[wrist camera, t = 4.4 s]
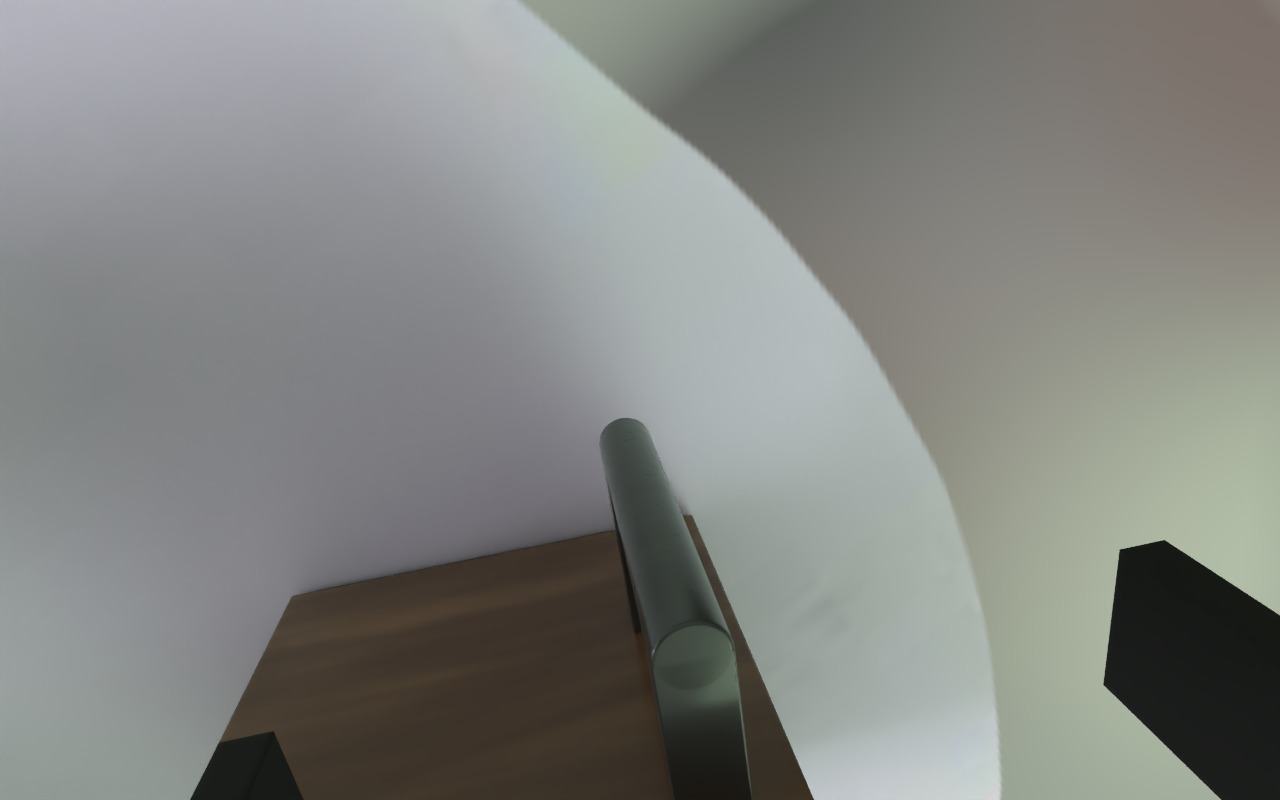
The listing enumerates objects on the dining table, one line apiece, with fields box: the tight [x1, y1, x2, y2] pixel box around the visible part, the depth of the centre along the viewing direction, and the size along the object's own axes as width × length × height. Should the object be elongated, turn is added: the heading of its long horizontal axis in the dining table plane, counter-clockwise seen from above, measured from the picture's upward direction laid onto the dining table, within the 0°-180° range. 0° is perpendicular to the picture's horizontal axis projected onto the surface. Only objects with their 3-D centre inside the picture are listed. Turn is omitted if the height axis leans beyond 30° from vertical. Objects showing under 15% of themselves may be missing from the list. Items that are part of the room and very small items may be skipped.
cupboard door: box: [219, 418, 814, 800], centre depth 19 cm, size 8×16×20 cm, turn 98°
